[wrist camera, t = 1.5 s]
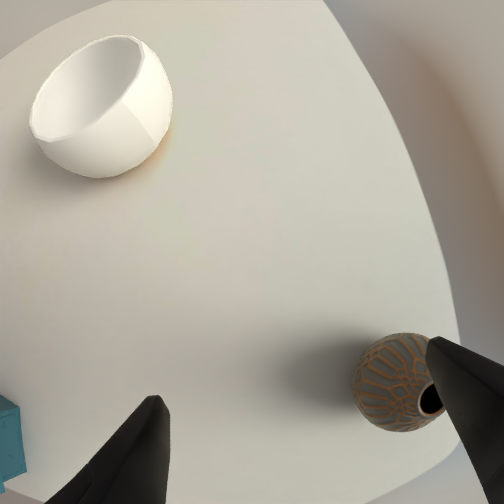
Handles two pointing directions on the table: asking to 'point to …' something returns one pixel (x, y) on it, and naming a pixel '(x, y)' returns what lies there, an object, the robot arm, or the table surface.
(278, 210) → the table surface
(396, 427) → the vase
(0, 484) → the lid
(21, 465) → the teal rectangular box
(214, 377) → the table surface
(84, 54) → the cup
